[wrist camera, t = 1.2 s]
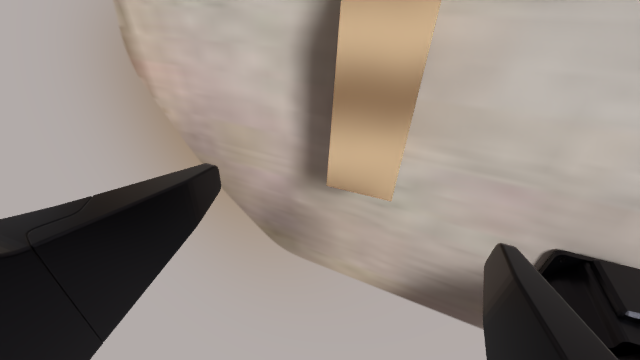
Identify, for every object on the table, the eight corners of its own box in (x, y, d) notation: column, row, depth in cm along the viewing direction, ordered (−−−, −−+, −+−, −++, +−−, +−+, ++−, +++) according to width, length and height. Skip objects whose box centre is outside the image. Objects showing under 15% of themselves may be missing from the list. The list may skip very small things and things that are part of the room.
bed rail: (400, 160, 21) (391, 201, 17) (346, 149, 22) (326, 185, 18) (467, -110, 13) (478, -150, 9) (377, -109, 14) (352, -145, 10)
